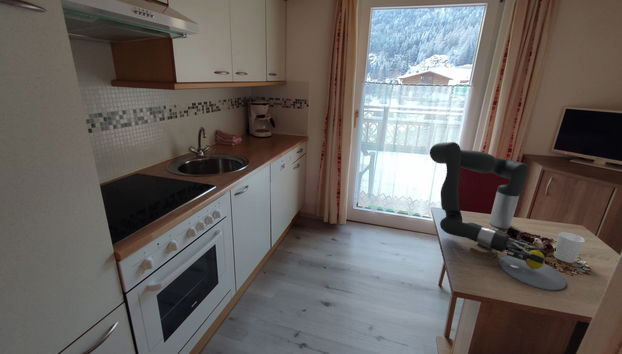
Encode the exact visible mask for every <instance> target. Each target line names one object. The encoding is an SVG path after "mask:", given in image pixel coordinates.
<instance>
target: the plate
mask: <svg viewBox="0 0 622 354" xmlns="http://www.w3.org/2000/svg"><path fill="white" fill-rule="evenodd" d="M499 265H500V268H501V269H502V270H503V271H504V272H505V273H506V274H507V275H509V276H510V277H512V278H513V279H515V280H517V281H518V282H521V283H523V284H524V285H528V286H531V287H534V288H537V289H541V290H546V291H560V290H563V289H565V288H566V286H567V280H566V278H565V276H564V275H563V274H562V273H561V272H560V271H558V270H557V269H555V268H554V267H552V266H551V265H548V264H546V263H544V264H543V266H542V267H541V268H539V269H531V268H530V267H529V266H528V265H527V264H526V262H525V261H524V260H521V259H517V258H514V257H511V256H508V255H504V256H501V258H500V260H499Z"/></svg>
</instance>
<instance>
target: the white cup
mask: <svg viewBox="0 0 622 354" xmlns="http://www.w3.org/2000/svg"><path fill="white" fill-rule="evenodd" d="M585 242H586V239H584V238H583V237H582V236H580V235H578V234H575V233H571V232H564V231H561V232H559V233H558V236H557V240H556V244H555V247H556V251H555V250H554V252H553V257H555V258H556V259H557V260H559V261H562V262H564V263H569V264H573V263H575V262H576V260H577V258H578V257H579V256H580V255H579V254H580V253H581V251H582V248H583V247H584V244H585Z"/></svg>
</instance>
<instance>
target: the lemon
mask: <svg viewBox="0 0 622 354" xmlns="http://www.w3.org/2000/svg"><path fill="white" fill-rule="evenodd" d="M529 252H530V253H531V254H535V255H537V256H540V257H543V258H544V255H543V254H542V253H541V252H540V251H539V250H531V251H529ZM545 259H546V258H544V262H543V263H542V264H541V263H538V262H535V261H533V260H530V259H529V260H527V259H526V261H525V262H526V264H527V265H528V266H529V267H530V268H531V269H539V268H541V267H542V266H543V264H545Z"/></svg>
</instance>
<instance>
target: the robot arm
mask: <svg viewBox="0 0 622 354" xmlns="http://www.w3.org/2000/svg"><path fill="white" fill-rule="evenodd" d="M429 157H430V158H431V159H432V161H433V162H435V163H437V164H445V166H446V174H445V179H444V181H443V184H442V186H441V189H440V205H441V209H442V210H443V211H445V217H443V218H442V219H441V220H440V222H439V226H440V228H441V230H442V231H443V232H445V233H446V234H449V235H451V236H456V237H460V238H466V239H468V240H471V241H473V242H476V243H477V244H478V243H480V244H482V245H484V246H487V247H489V248H492V249H494V250H497V252H500V253H504V252H505V251H506V256H511V257H514V258H517V259H521V260H524V261H526V259H527V260H529V259H530V260H533V261H535V262H538V263H541V264H542V263H543V262H544V263H545V261H544V258H545V259H546V258H547V256H548V251H545V250H543V249H540V248H537V247H536V246H535V244H533V243H531V242H529V241H526V240H524V239H522V238H519V237H516V239H512V238H511V239H510V234H508V233H506V232H504V231H503V232H502V231H500V230H497V229H494V228H491V227H487V226H483V225H480V224H477V223H474V222H463V216H462V212H461V209H460V202H459V201H460V200H459V178H460V171H461V168H462V169H466V170H469V171H472V172H477V173H481V174H488V173H491V174H494V175H497V176H499V177H501V178H504V179H507V180H508V181H509V182H508V184H501V185H498V187H497V190H496V193H495V198H494V202H493V206H492V209H491V214H490V218H489V221H488V223H489V224H490V225H491V226H493V227H496V228H498V229H499V228H500V229H505V230H506V229H510V228H511V226H512V223H513V220H514V216H515V212H516V208H517V206H518V201H519V198H520V195H521V193H522V191H523V189H524V186H525V184H526V181H527V179H528V176H529V170H530V169H529V165H527V164H526V163H524V162H520V161H517V160H512V159H504V158H497V157H496V156H494V155H492V154H489V153H487V152H483V151H479V150H472V149H470V150H469V149H461V146H460V145H459V143H457V142H455V141H447V142H439V143H436V144H434V145H433V146H432V147H430V150H429ZM531 250H539V251H540V252H541V253H542V254H543V255H544V258H543V257H540V256H537V255H535V254H531V253H530V252H529V251H531Z"/></svg>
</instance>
